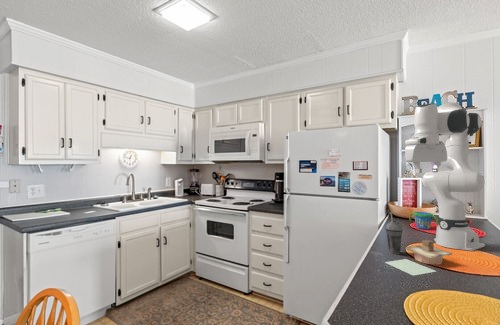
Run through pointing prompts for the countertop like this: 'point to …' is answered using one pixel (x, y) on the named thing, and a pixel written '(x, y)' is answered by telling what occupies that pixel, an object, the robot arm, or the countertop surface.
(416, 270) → the mat
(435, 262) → the bowl
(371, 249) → the countertop surface
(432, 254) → the cover
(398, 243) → the beverage cup
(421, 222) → the snack cup
